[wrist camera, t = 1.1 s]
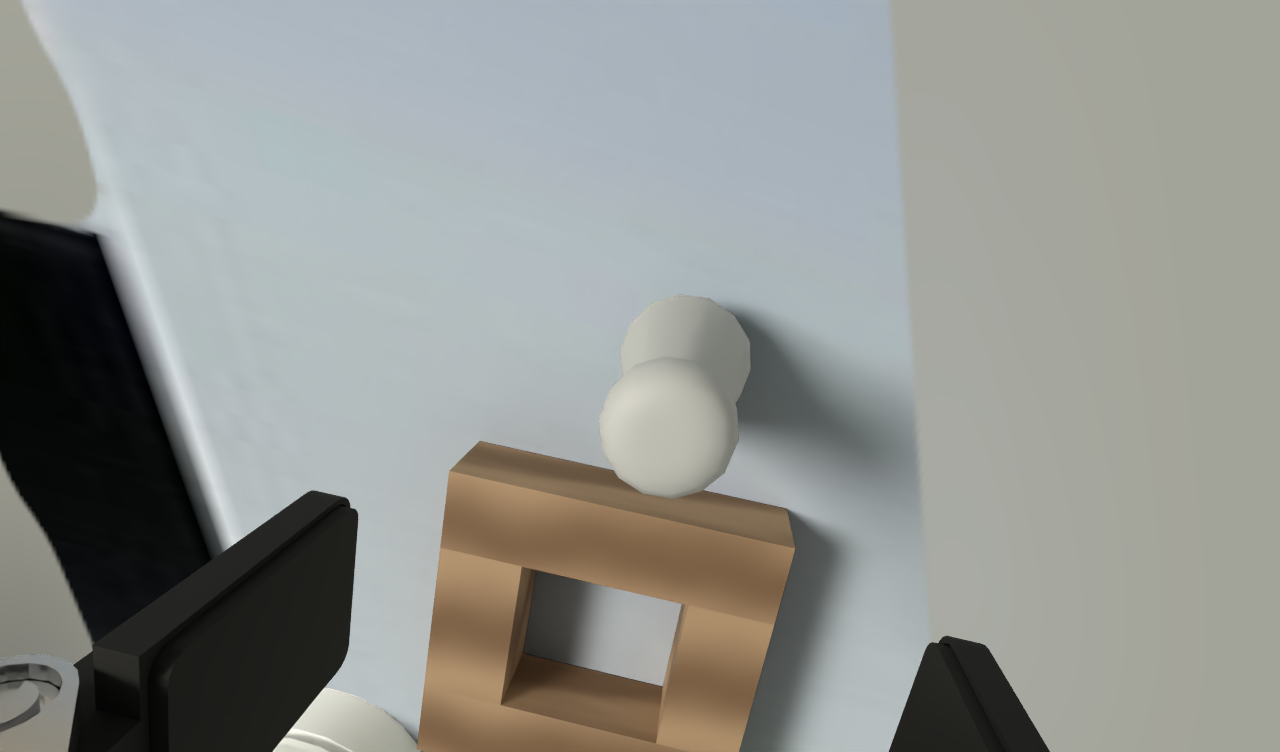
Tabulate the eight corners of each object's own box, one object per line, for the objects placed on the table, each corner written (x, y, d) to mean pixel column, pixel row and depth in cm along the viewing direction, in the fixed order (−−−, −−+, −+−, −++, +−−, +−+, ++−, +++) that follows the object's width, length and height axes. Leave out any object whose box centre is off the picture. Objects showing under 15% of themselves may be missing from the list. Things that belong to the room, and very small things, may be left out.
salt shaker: (758, 298, 31) (785, 361, 18) (738, 414, 32) (750, 546, 20) (634, 280, 31) (578, 331, 19) (620, 396, 33) (559, 513, 20)
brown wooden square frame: (479, 441, 34) (449, 471, 30) (786, 508, 33) (795, 548, 29) (447, 694, 39) (416, 749, 35) (718, 761, 38) (718, 825, 34)
